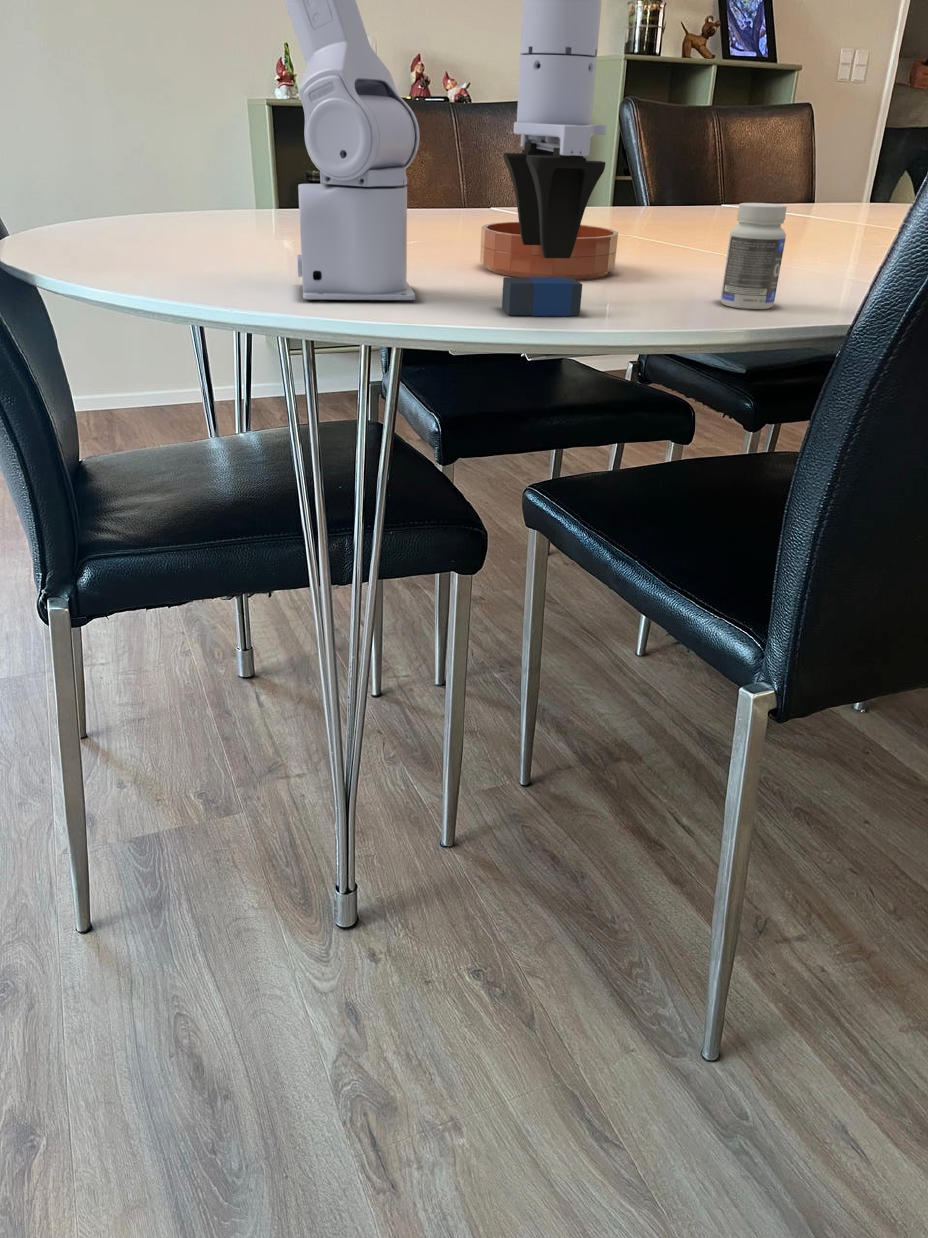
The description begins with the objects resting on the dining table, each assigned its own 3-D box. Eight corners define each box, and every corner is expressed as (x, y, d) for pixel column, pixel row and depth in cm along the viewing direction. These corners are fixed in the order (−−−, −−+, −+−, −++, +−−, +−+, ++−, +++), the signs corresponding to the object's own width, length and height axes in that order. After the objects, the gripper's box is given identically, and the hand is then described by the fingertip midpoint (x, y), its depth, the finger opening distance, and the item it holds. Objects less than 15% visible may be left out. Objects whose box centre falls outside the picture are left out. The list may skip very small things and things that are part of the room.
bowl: (493, 280, 94) (495, 236, 92) (470, 259, 106) (472, 220, 104) (631, 281, 96) (635, 239, 94) (593, 261, 108) (596, 222, 106)
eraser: (508, 315, 78) (510, 282, 77) (501, 308, 81) (503, 276, 80) (579, 316, 79) (582, 283, 78) (570, 309, 82) (573, 277, 81)
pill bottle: (779, 310, 84) (798, 207, 80) (726, 308, 84) (742, 205, 80) (765, 301, 89) (783, 202, 85) (714, 299, 89) (729, 200, 85)
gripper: (640, 54, 66) (619, 264, 72) (584, 62, 78) (570, 239, 85) (540, 50, 65) (527, 263, 71) (499, 58, 77) (492, 238, 84)
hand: (545, 250), depth 78 cm, fingers open, 7 cm apart
